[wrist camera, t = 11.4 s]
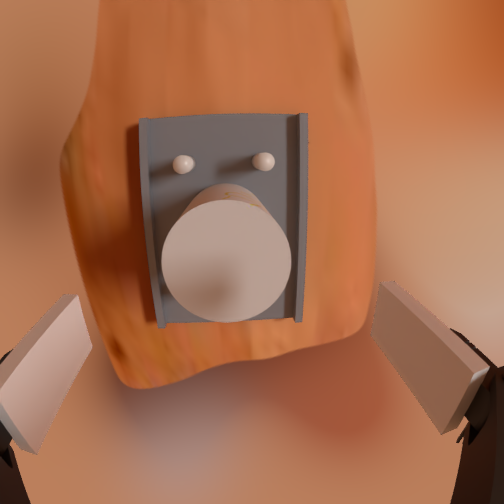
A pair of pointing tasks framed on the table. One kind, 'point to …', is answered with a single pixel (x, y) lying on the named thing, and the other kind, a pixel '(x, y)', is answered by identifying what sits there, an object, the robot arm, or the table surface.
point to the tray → (225, 171)
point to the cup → (226, 255)
